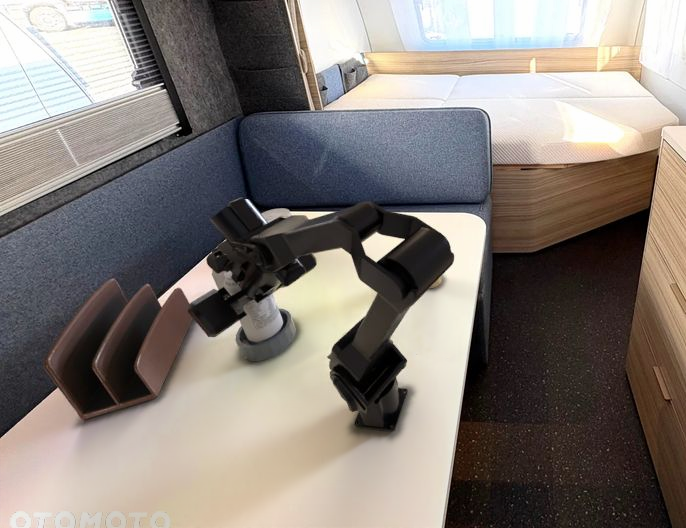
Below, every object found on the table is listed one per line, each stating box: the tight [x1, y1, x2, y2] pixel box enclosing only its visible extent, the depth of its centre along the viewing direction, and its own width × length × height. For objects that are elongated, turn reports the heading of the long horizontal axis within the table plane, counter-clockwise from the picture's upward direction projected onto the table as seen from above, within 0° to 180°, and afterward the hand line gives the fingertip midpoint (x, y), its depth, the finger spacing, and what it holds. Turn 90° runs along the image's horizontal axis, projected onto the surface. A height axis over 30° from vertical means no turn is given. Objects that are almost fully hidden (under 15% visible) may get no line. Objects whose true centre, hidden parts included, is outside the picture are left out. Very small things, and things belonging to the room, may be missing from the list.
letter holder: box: [43, 278, 194, 421], centre depth 67 cm, size 10×20×14 cm, turn 21°
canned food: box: [260, 207, 293, 222], centre depth 96 cm, size 8×8×11 cm
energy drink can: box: [224, 271, 283, 343], centre depth 69 cm, size 6×6×15 cm
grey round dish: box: [234, 308, 297, 362], centre depth 73 cm, size 9×9×4 cm
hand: (249, 299), depth 70 cm, fingers closed on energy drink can, 6 cm apart
